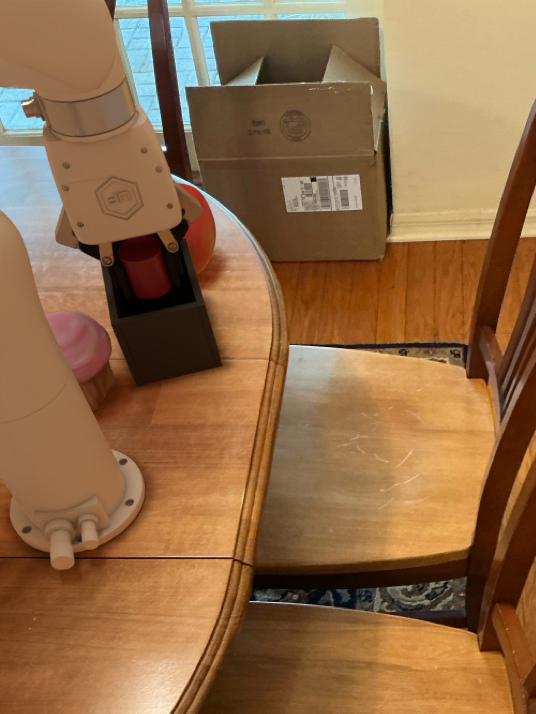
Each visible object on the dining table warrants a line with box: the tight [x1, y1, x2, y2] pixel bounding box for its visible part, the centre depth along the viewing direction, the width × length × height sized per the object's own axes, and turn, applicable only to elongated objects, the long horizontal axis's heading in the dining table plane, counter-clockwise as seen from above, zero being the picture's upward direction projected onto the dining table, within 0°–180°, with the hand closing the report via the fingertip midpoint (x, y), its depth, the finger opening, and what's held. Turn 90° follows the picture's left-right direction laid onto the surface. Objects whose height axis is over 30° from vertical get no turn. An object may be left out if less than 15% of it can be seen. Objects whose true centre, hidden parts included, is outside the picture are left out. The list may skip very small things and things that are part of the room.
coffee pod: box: [117, 236, 173, 299], centre depth 79 cm, size 4×4×4 cm
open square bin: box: [99, 238, 223, 387], centre depth 85 cm, size 13×10×8 cm
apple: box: [177, 182, 217, 276], centre depth 93 cm, size 10×10×10 cm
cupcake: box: [45, 310, 116, 412], centre depth 80 cm, size 9×9×10 cm
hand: (151, 283), depth 80 cm, fingers closed on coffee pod, 4 cm apart
